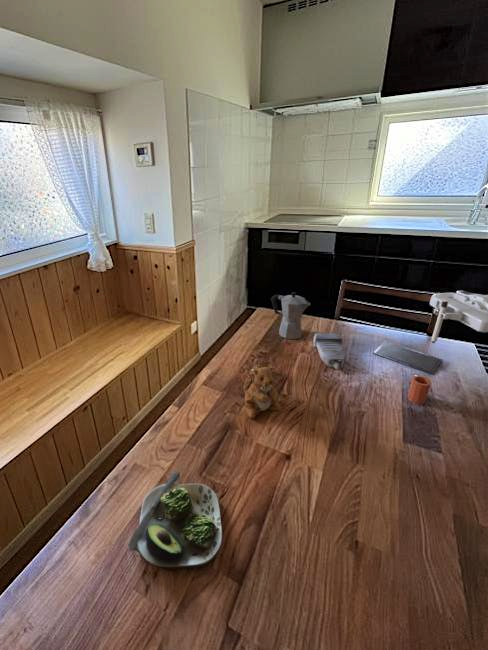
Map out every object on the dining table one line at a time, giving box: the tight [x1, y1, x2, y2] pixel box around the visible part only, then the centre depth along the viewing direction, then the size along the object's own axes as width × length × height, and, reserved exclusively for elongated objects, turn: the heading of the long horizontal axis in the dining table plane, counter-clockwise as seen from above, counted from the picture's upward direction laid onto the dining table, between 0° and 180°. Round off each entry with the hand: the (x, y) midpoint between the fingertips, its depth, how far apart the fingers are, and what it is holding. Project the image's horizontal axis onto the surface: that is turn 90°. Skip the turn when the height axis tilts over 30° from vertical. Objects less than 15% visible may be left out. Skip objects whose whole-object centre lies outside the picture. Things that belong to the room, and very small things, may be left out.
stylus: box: [430, 299, 448, 344], centre depth 104 cm, size 1×1×15 cm
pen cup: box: [407, 375, 433, 405], centre depth 95 cm, size 4×4×7 cm
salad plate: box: [127, 470, 223, 570], centre depth 68 cm, size 19×18×5 cm
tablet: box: [372, 340, 443, 376], centre depth 115 cm, size 18×11×1 cm, turn 42°
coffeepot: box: [270, 291, 311, 340], centre depth 131 cm, size 15×9×18 cm, turn 53°
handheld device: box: [312, 332, 347, 371], centre depth 118 cm, size 10×20×5 cm, turn 173°
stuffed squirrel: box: [243, 363, 282, 419], centre depth 97 cm, size 10×14×13 cm
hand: (439, 313), depth 103 cm, fingers closed on stylus, 1 cm apart
